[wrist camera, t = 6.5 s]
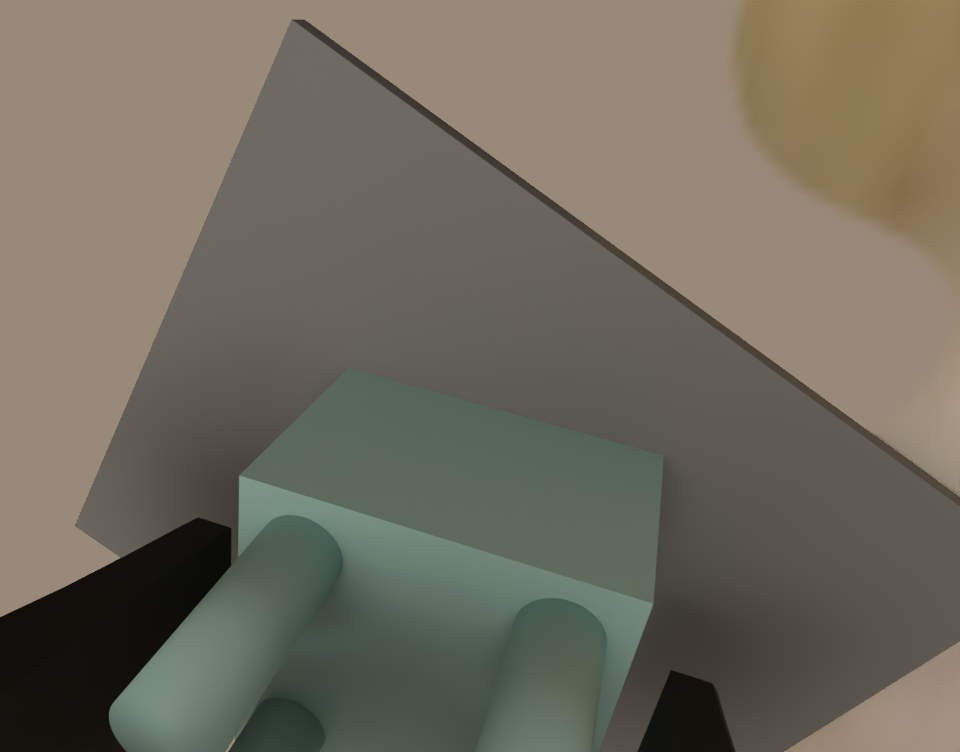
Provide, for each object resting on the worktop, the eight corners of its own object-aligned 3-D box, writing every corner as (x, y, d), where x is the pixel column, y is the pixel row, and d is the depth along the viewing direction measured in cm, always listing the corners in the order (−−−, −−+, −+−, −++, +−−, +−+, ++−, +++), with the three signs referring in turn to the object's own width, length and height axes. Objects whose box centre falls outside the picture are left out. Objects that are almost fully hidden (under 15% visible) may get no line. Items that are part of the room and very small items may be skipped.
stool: (663, 455, 12) (636, 848, 6) (585, 687, 14) (515, 1115, 9) (348, 367, 13) (70, 642, 7) (327, 600, 15) (109, 940, 10)
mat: (1048, 561, 11) (1058, 579, 11) (587, 859, 17) (584, 876, 17) (305, 19, 11) (291, 19, 11) (88, 515, 17) (74, 525, 16)
